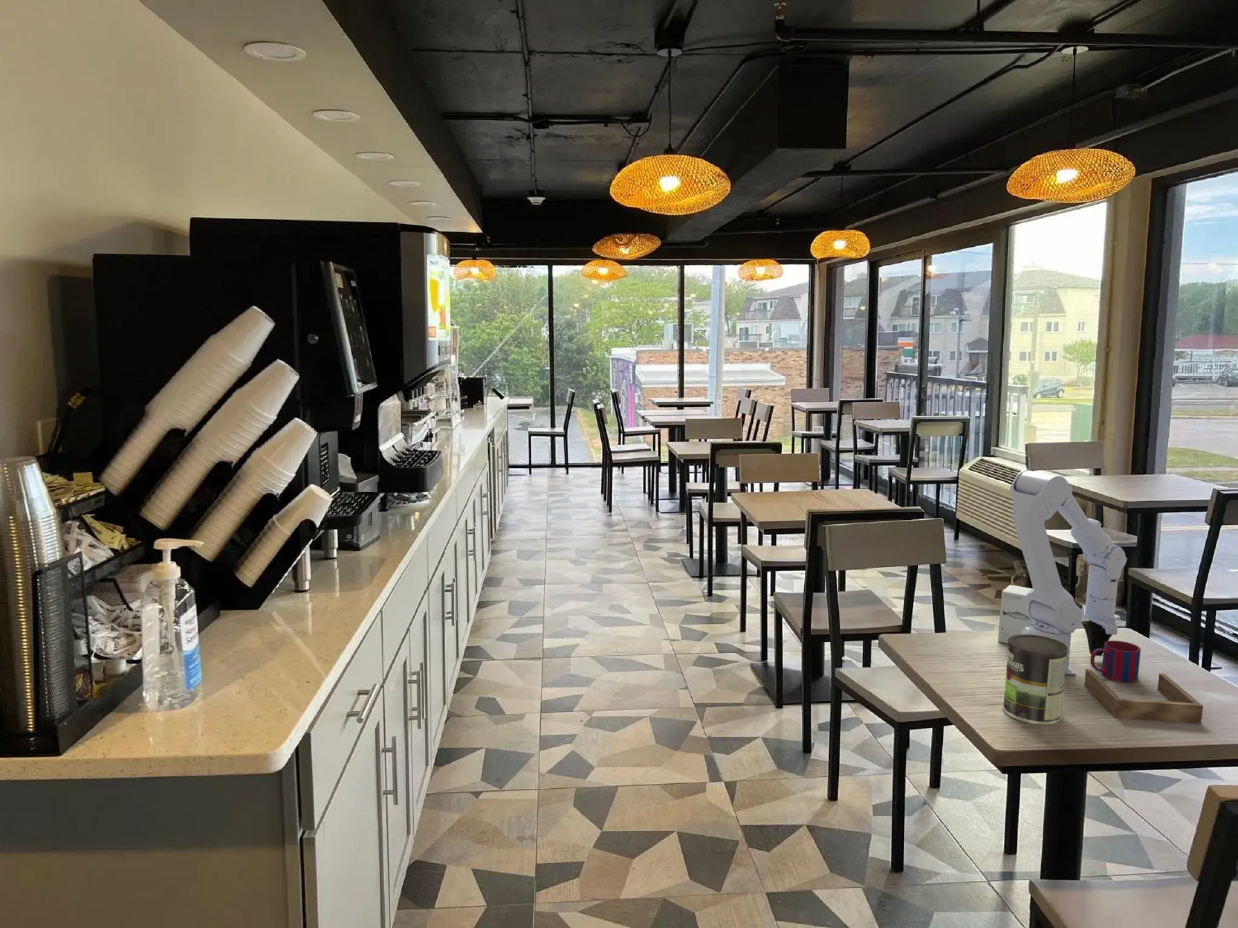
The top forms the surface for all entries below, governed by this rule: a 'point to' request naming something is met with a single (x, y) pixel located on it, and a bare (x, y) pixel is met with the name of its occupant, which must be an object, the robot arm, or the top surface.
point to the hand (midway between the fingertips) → (1095, 654)
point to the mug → (1119, 661)
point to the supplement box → (1013, 612)
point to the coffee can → (1035, 679)
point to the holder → (1148, 702)
